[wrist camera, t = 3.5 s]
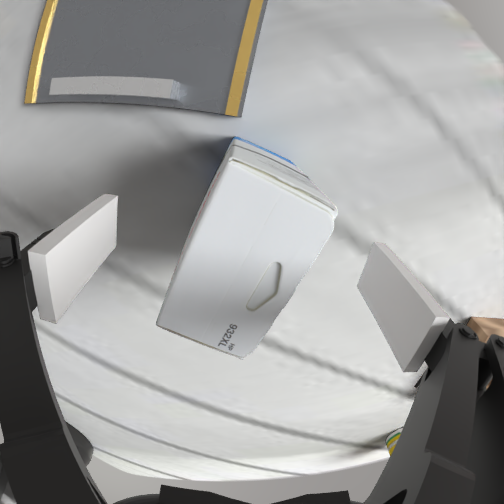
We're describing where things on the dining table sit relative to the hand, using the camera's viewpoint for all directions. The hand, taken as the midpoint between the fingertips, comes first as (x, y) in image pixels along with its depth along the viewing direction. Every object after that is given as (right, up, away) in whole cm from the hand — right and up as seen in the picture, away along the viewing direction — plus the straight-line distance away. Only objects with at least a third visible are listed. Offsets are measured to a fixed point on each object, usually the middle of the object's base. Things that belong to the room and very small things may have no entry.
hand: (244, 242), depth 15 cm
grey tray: (-8, +17, +2) cm, 19 cm away
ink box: (-1, +4, +8) cm, 9 cm away
